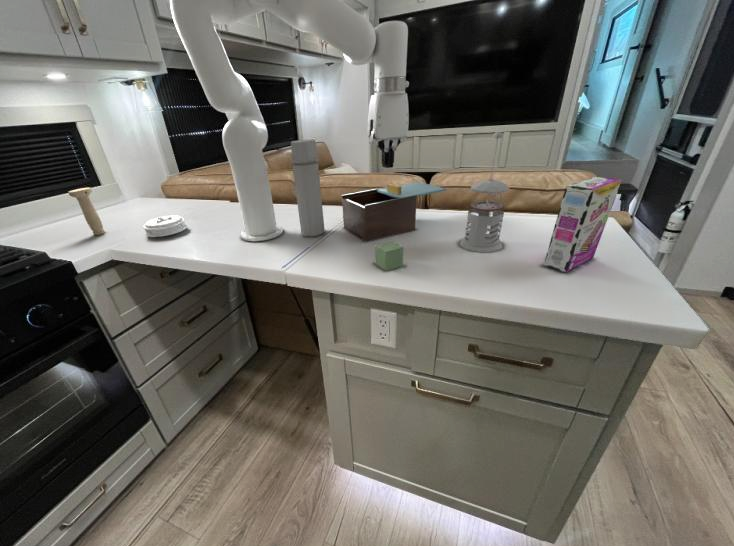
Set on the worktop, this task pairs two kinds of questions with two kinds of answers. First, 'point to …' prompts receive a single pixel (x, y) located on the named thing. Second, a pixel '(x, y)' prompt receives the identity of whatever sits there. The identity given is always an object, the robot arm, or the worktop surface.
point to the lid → (164, 226)
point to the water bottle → (307, 186)
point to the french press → (485, 215)
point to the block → (389, 255)
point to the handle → (88, 209)
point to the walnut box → (378, 214)
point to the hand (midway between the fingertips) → (387, 167)
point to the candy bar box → (581, 222)
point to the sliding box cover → (410, 190)
